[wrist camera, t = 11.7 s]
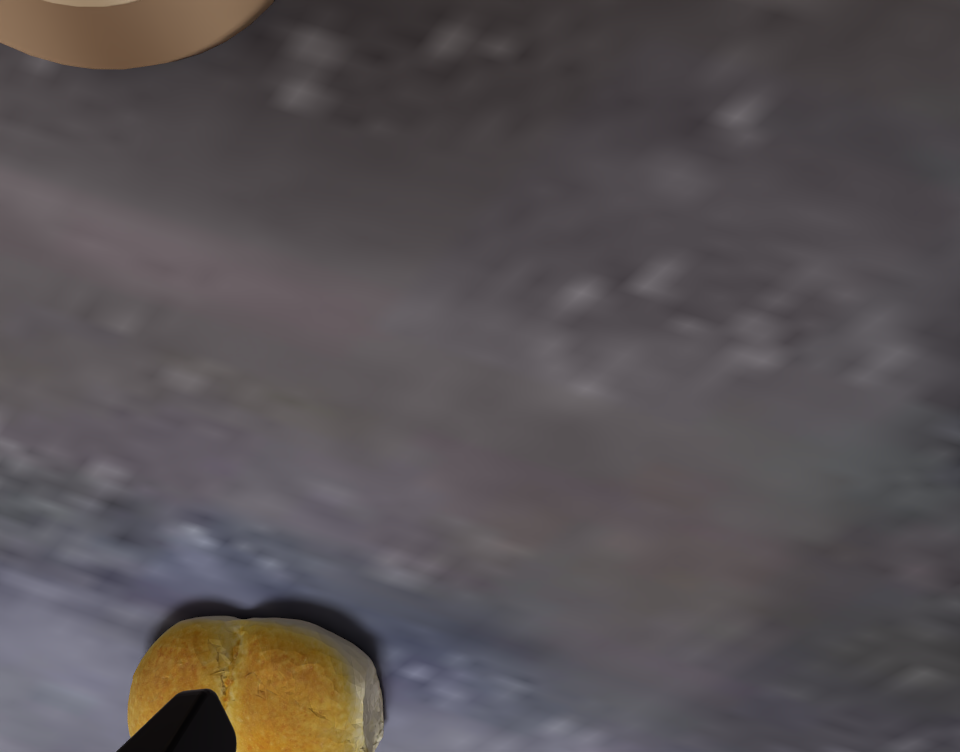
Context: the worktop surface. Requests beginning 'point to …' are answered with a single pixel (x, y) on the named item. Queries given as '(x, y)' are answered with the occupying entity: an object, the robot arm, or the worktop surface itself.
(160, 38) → the tan round plate
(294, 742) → the bread roll
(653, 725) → the worktop surface
